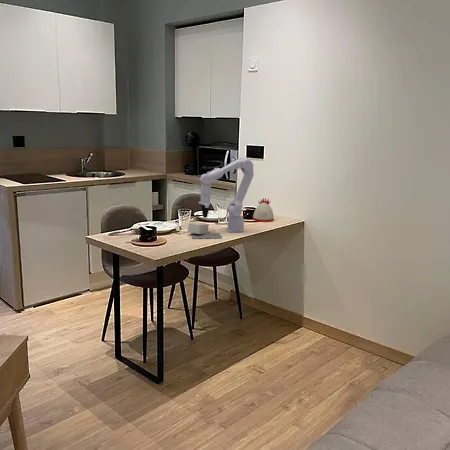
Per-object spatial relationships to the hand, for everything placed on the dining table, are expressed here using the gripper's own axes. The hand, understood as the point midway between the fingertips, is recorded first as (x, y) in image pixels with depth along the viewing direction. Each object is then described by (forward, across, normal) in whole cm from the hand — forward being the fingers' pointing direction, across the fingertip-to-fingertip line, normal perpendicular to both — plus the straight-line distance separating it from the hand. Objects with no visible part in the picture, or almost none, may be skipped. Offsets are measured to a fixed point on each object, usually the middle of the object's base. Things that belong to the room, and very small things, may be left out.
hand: (205, 217), depth 281 cm
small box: (+6, 0, -1) cm, 6 cm away
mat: (+9, +10, 0) cm, 13 cm away
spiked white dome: (+9, -30, +44) cm, 54 cm away
